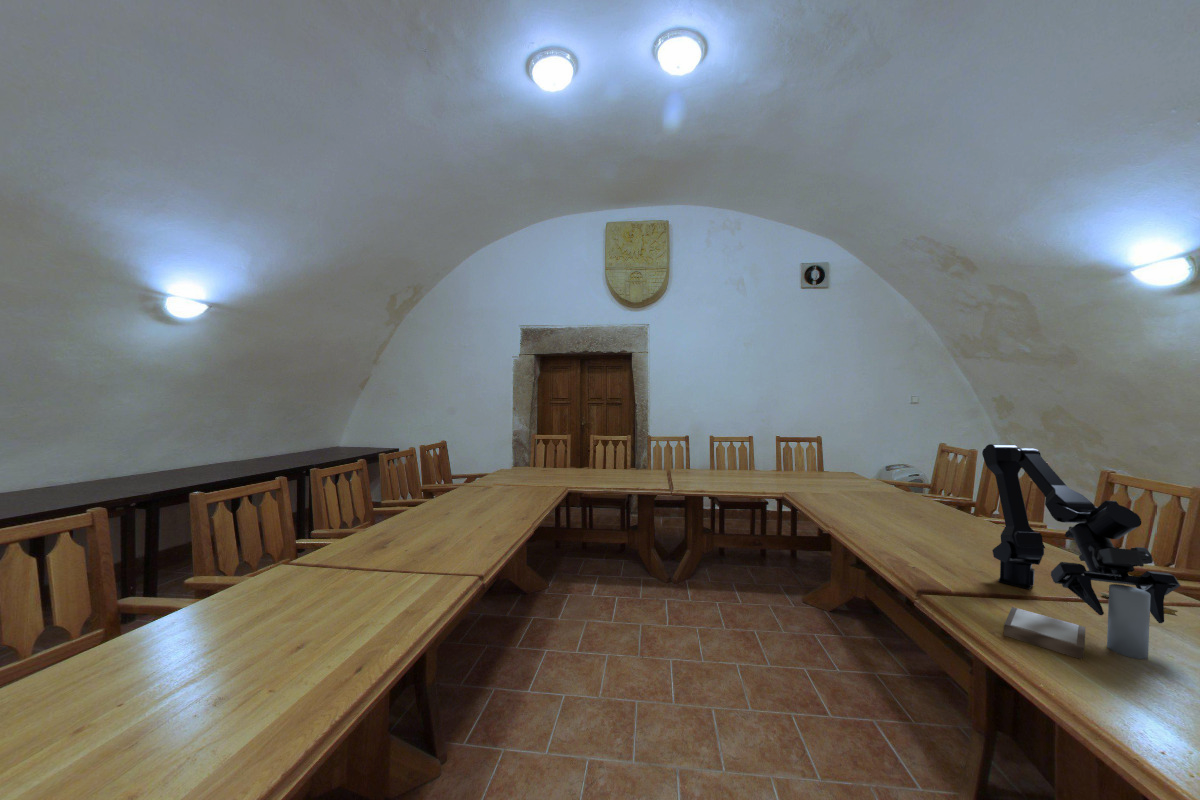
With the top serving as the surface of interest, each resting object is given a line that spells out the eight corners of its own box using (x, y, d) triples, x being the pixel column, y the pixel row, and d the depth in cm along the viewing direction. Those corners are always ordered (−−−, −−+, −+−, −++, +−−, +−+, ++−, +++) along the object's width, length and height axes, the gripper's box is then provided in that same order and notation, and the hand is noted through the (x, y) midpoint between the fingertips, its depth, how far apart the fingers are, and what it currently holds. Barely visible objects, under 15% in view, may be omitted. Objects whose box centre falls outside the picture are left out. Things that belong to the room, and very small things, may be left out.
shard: (1178, 617, 109) (1178, 609, 109) (1150, 618, 108) (1151, 611, 108) (1122, 596, 120) (1122, 589, 120) (1096, 597, 119) (1097, 591, 119)
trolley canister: (1106, 650, 94) (1109, 589, 94) (1106, 640, 98) (1109, 581, 98) (1148, 662, 90) (1151, 598, 90) (1147, 652, 94) (1149, 590, 93)
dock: (1003, 635, 100) (1004, 623, 100) (1011, 617, 108) (1011, 606, 108) (1083, 659, 91) (1083, 646, 91) (1085, 638, 99) (1085, 626, 99)
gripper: (1059, 526, 101) (1091, 595, 91) (1174, 536, 94) (1222, 612, 84) (1038, 549, 109) (1065, 615, 99) (1143, 559, 102) (1184, 632, 92)
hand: (1131, 618), depth 93 cm, fingers open, 9 cm apart
